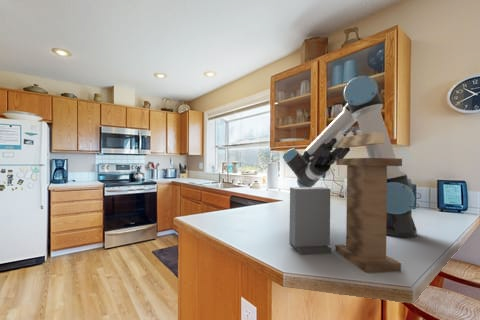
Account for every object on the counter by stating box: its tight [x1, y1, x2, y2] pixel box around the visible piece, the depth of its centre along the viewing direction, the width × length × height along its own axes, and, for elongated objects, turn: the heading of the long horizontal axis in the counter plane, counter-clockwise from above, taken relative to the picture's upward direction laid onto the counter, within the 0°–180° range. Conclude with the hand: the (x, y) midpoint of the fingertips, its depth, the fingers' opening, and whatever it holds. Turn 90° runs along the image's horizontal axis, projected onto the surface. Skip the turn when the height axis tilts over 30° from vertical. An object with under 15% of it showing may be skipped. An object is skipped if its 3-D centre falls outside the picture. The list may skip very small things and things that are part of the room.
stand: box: [334, 157, 403, 274], centre depth 70 cm, size 15×10×30 cm, turn 9°
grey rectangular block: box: [288, 186, 332, 255], centre depth 79 cm, size 10×12×20 cm
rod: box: [332, 132, 385, 149], centre depth 75 cm, size 22×3×3 cm, turn 9°
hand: (347, 134), depth 79 cm, fingers closed on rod, 3 cm apart
